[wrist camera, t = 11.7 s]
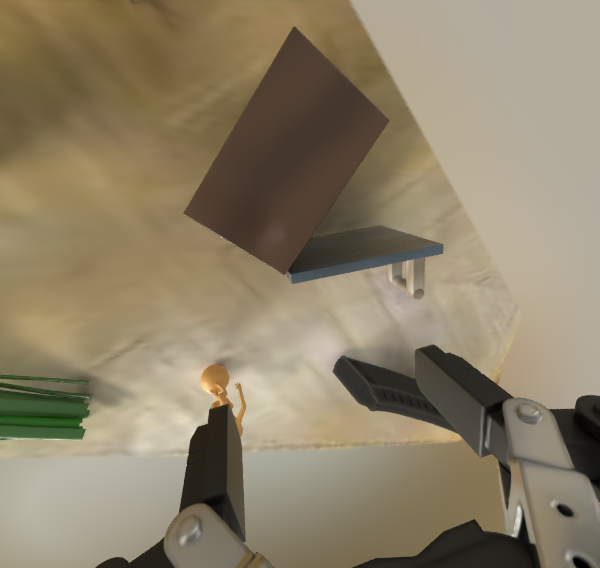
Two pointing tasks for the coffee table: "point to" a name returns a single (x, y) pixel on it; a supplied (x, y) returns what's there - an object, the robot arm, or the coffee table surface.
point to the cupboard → (287, 156)
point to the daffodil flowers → (41, 412)
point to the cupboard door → (367, 256)
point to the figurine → (221, 389)
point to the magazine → (387, 391)
